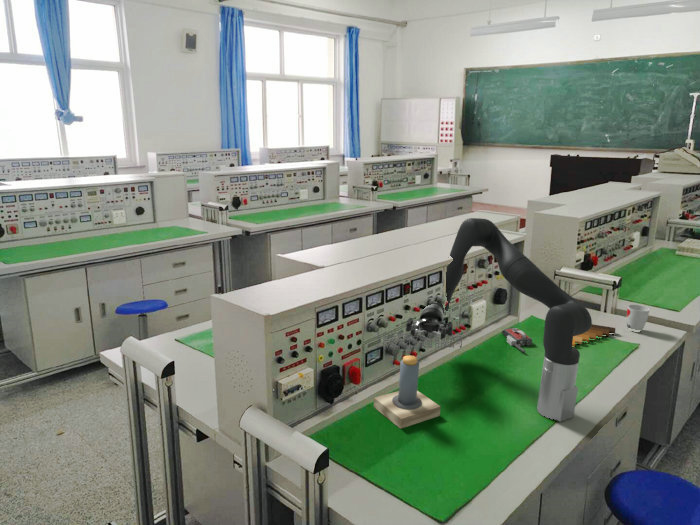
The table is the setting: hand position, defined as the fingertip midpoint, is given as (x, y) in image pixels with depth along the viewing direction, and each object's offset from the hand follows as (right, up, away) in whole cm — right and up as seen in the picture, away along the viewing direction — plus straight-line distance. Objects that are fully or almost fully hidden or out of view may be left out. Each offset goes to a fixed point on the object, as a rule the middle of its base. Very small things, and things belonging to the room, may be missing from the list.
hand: (427, 334), depth 164 cm
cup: (+95, -7, +63) cm, 114 cm away
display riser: (-7, -21, -7) cm, 23 cm away
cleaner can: (-7, -18, -8) cm, 21 cm away
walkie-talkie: (+42, -10, +45) cm, 62 cm away
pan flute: (+69, -9, +53) cm, 87 cm away
